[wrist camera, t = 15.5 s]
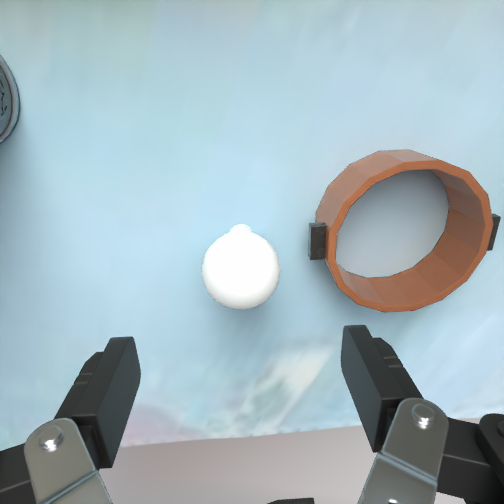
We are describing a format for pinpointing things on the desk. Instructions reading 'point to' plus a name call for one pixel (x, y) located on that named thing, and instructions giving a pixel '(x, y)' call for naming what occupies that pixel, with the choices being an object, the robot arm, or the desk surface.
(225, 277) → the lightbulb
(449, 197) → the copper pot
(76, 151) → the desk surface
